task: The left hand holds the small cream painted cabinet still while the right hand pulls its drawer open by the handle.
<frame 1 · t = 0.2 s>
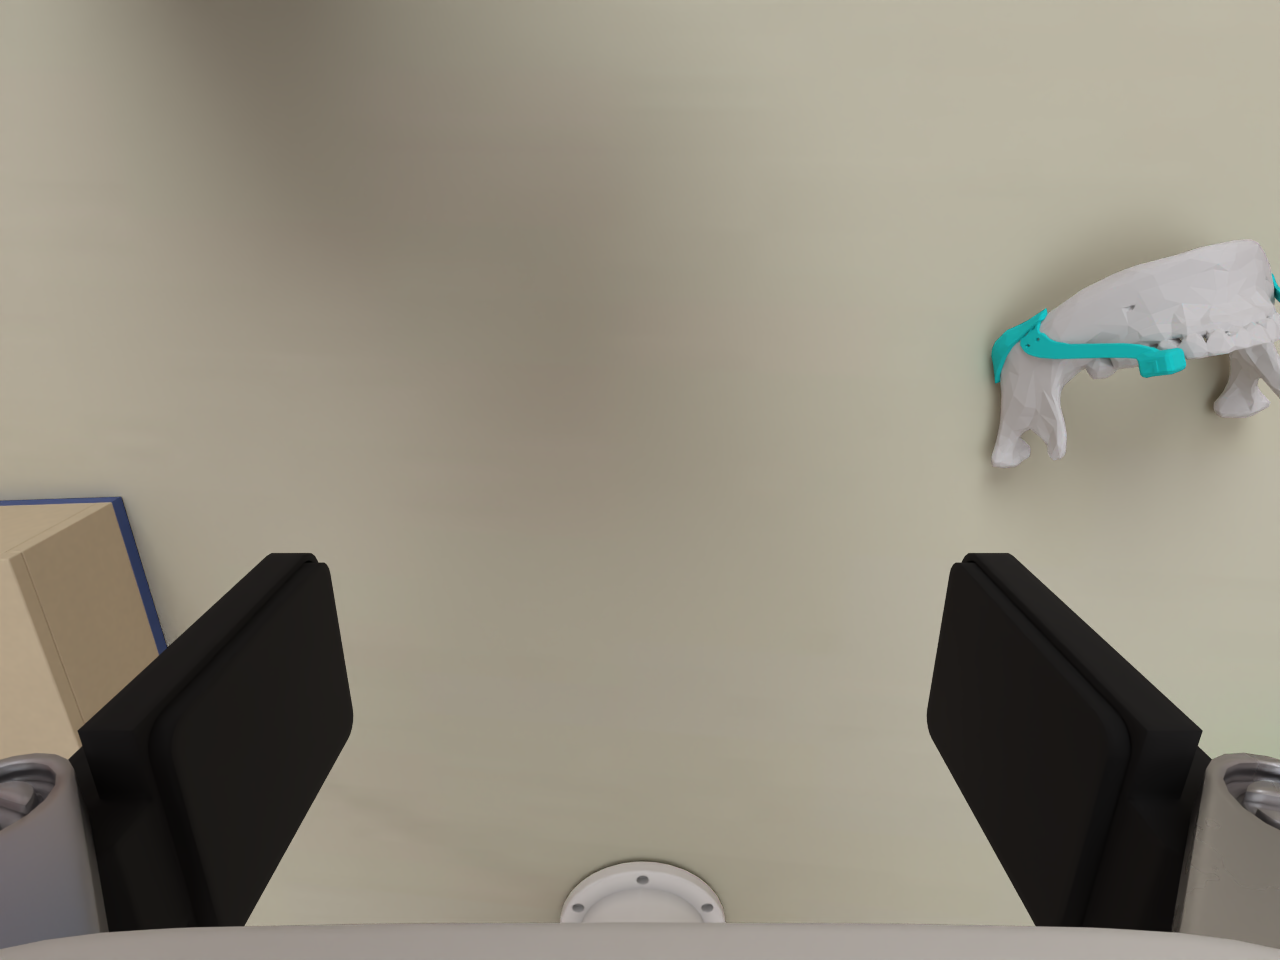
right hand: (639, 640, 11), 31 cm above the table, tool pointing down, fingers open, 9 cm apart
anatomical model: (1108, 344, 40), on the table
cabinet: (66, 593, 46), on the table
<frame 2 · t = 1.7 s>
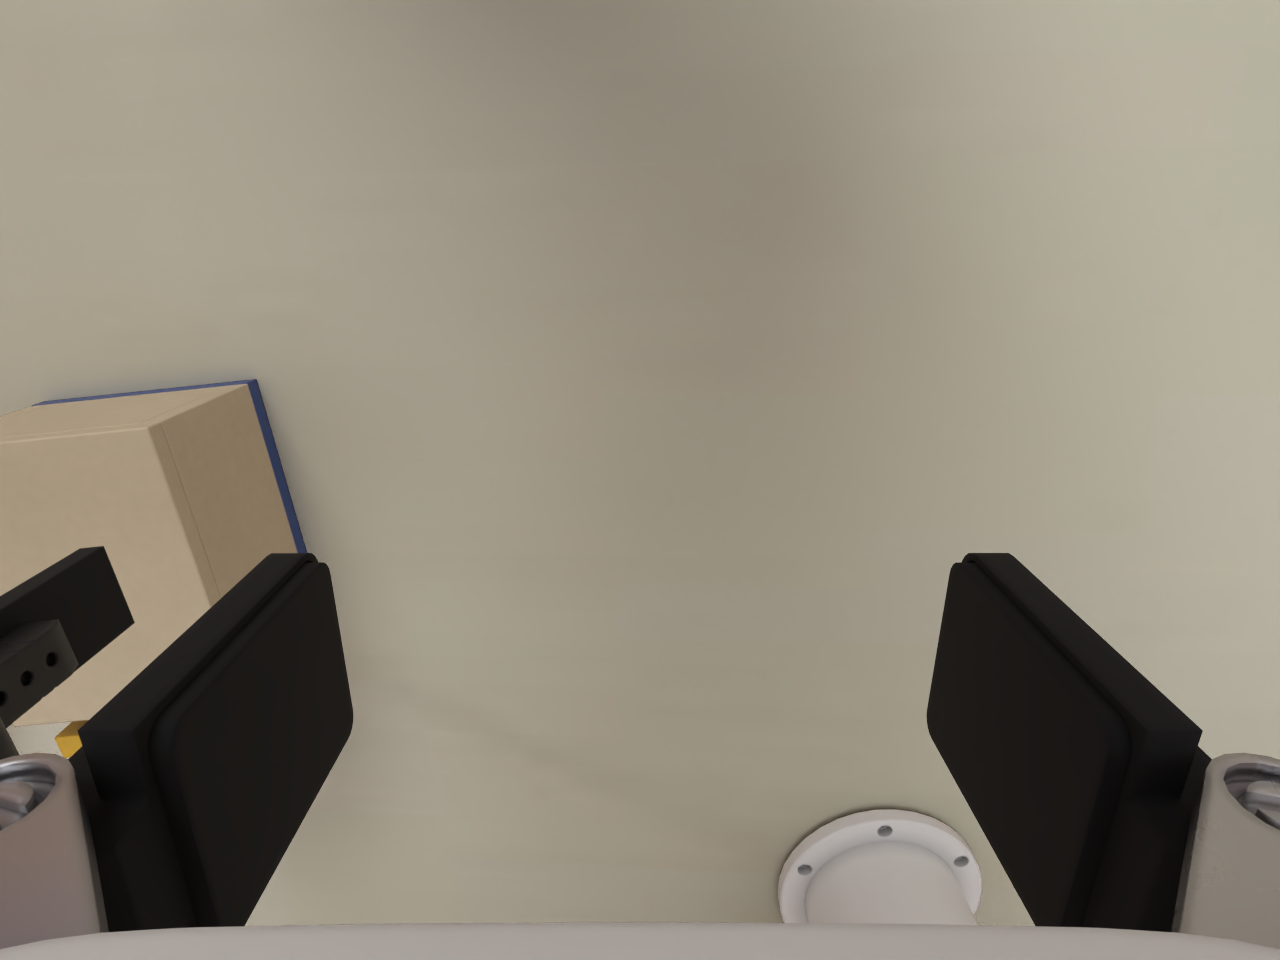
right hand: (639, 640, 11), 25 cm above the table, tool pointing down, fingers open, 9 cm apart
drawer: (180, 653, 36), point 4 cm above the table, slide at 1.4 cm
cabinet: (191, 511, 38), on the table
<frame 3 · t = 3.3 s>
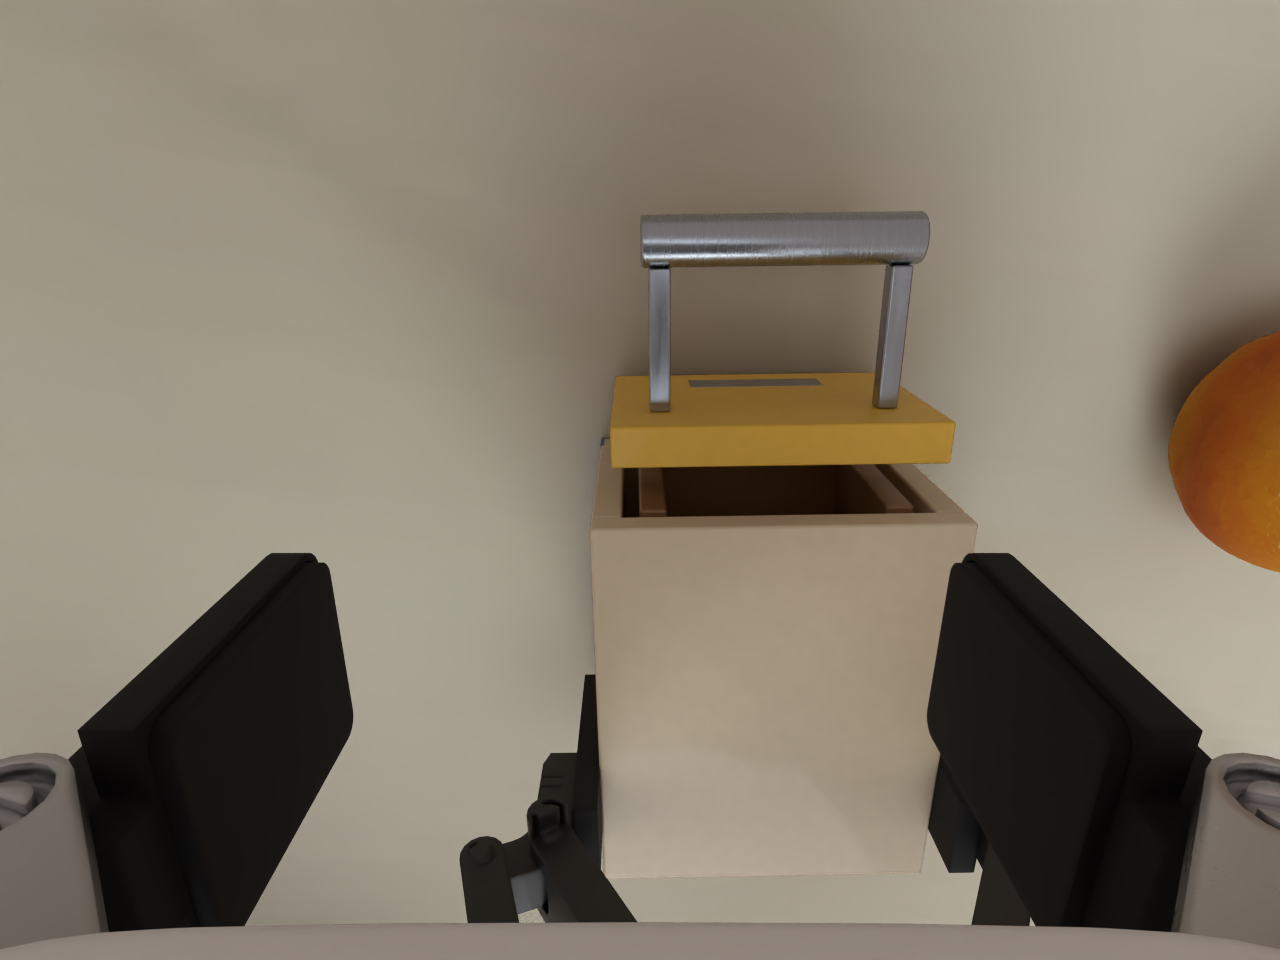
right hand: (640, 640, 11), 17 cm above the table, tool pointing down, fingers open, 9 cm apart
drawer: (759, 489, 24), point 4 cm above the table, slide at 1.4 cm
fruit: (1239, 419, 27), on the table
cabinet: (736, 585, 30), on the table, touching left hand
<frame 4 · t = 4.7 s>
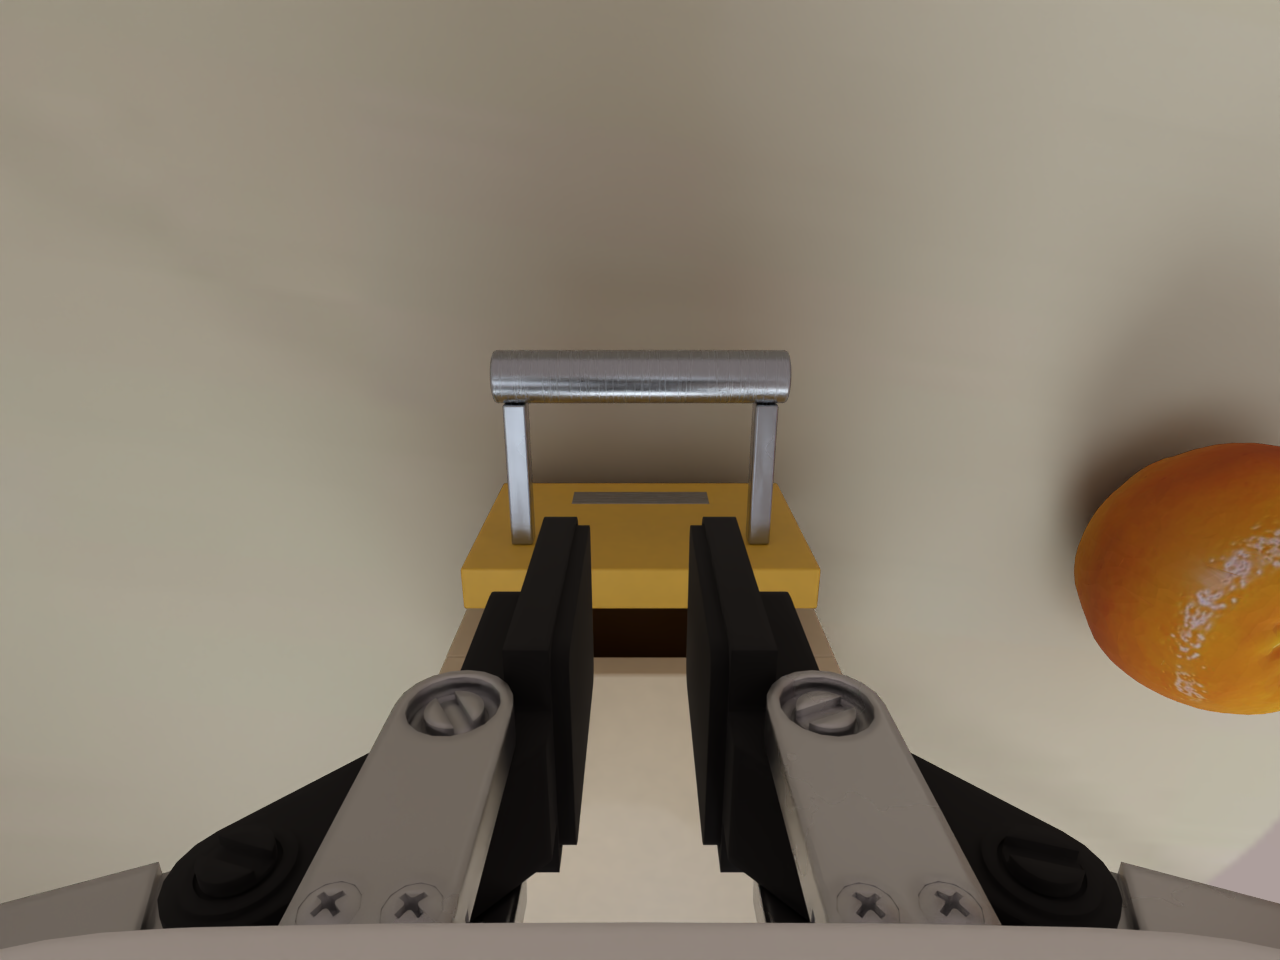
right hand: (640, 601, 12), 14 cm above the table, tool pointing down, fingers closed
drawer: (640, 610, 23), point 4 cm above the table, slide at 1.4 cm
fruit: (1154, 531, 27), on the table
cabinet: (640, 686, 29), on the table, touching left hand
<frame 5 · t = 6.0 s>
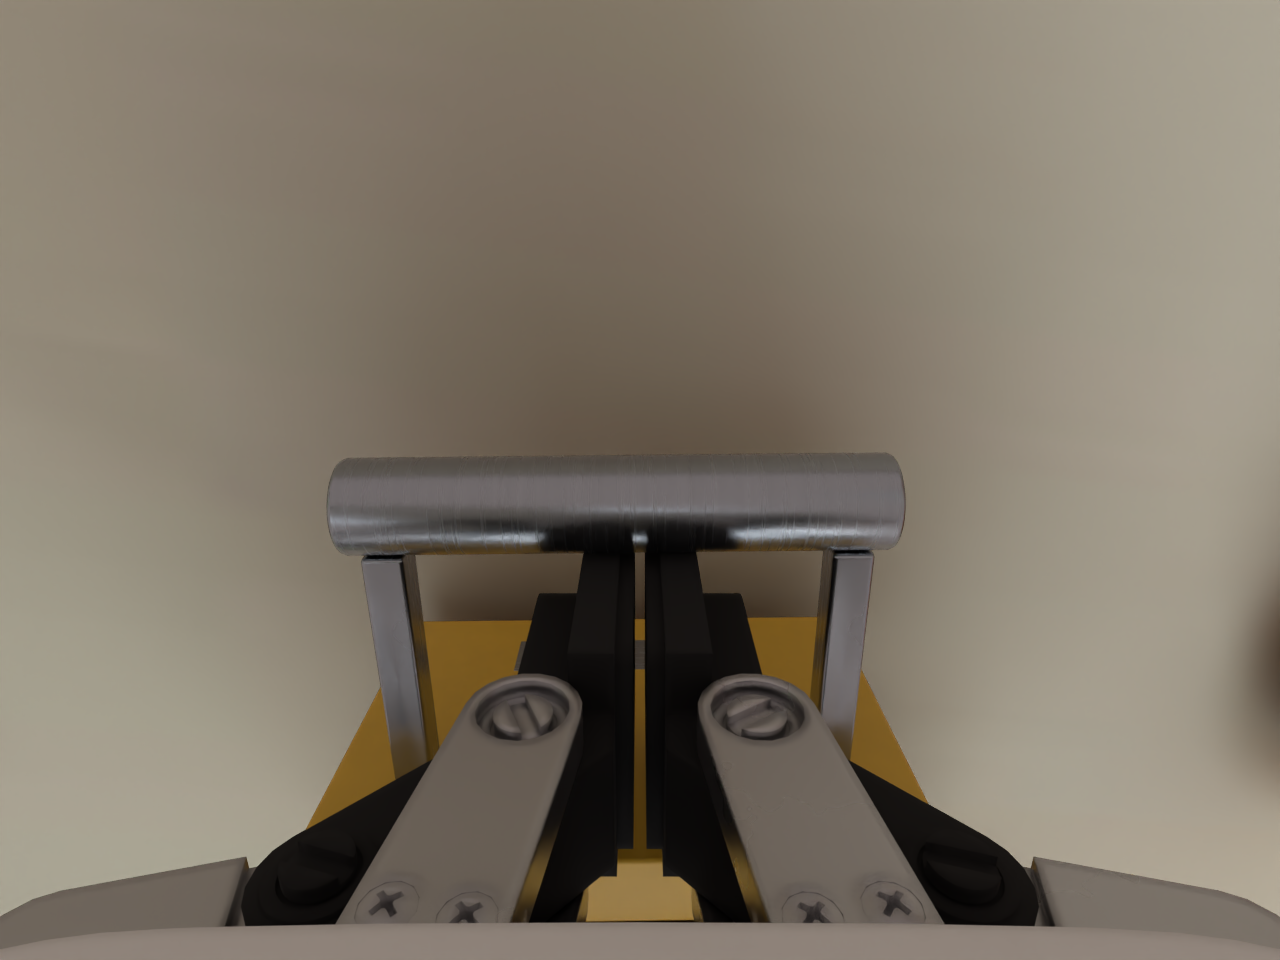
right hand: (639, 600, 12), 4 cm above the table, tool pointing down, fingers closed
drawer: (626, 843, 14), point 4 cm above the table, slide at 1.5 cm, touching right hand
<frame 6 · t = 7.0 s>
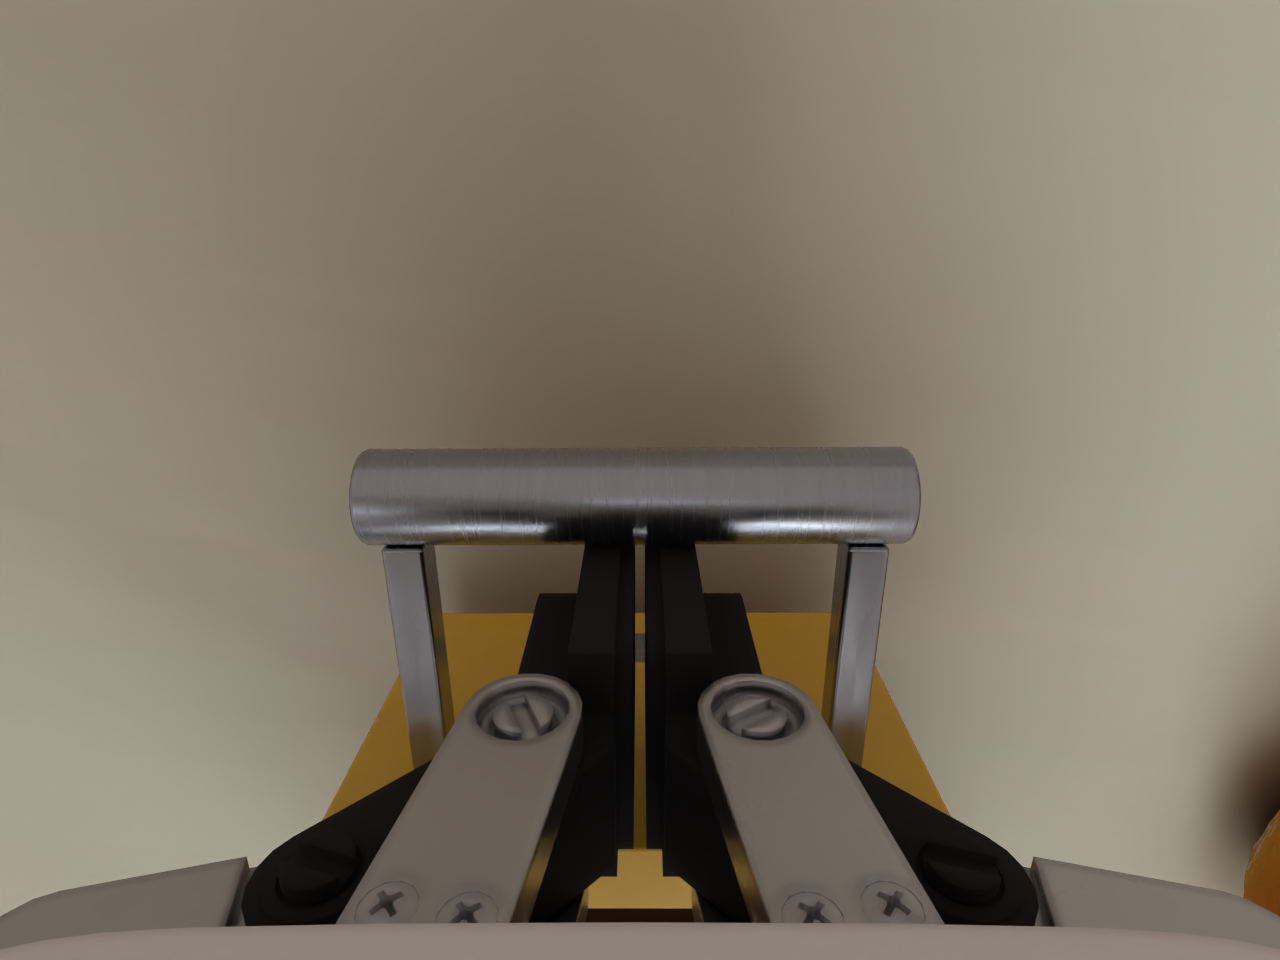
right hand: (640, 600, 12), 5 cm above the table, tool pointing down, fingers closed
drawer: (639, 834, 14), point 4 cm above the table, slide at 5.9 cm, touching right hand
when the left hand's fingers open (3 cm above the table, at t = 8.6 s): cabinet stays where it is, on the table.
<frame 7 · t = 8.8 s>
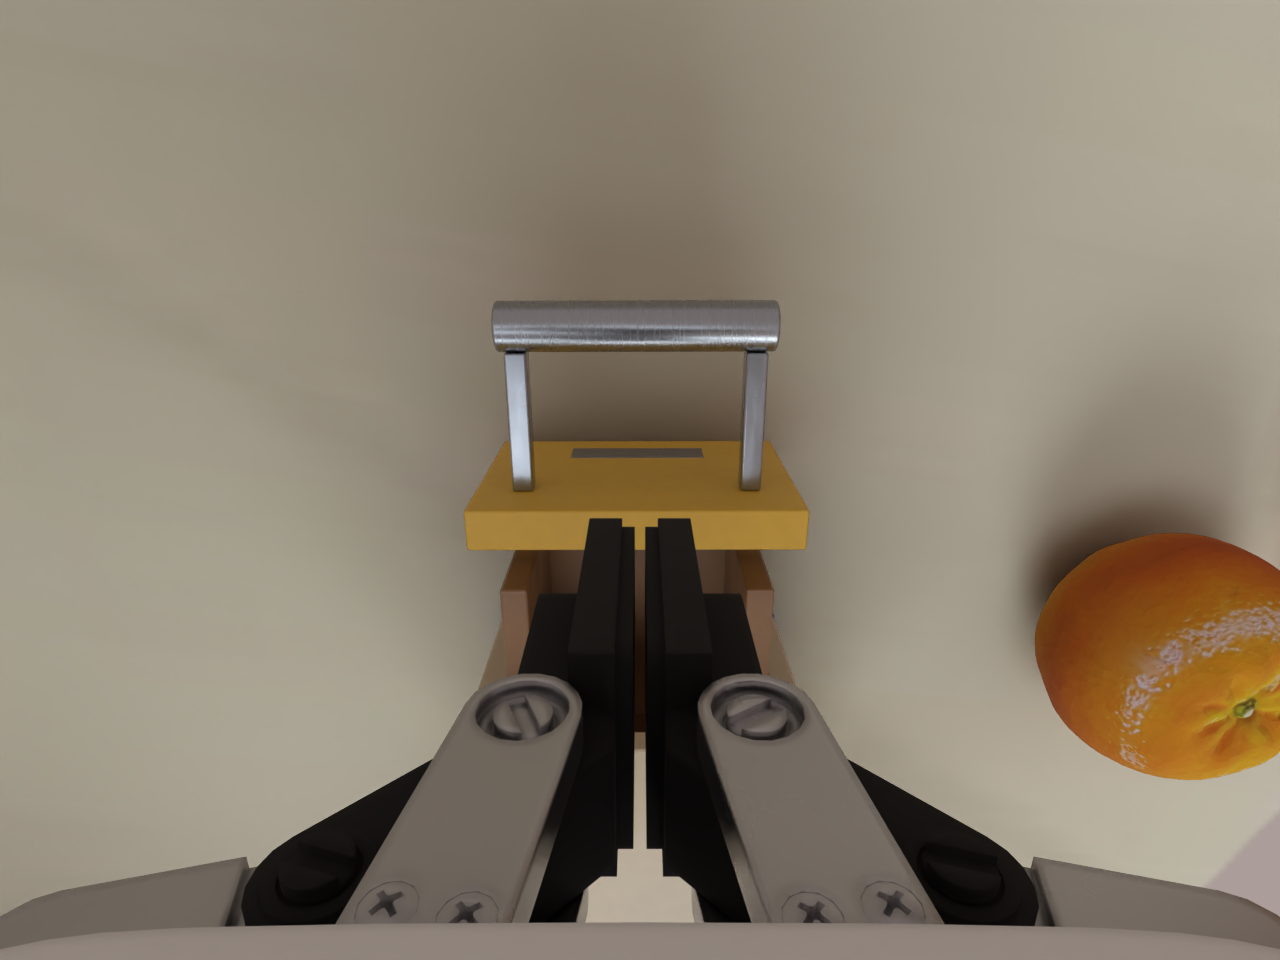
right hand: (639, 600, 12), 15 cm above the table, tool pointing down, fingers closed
drawer: (637, 561, 24), point 4 cm above the table, slide at 6.0 cm
fruit: (1109, 602, 29), on the table
cabinet: (638, 736, 31), on the table
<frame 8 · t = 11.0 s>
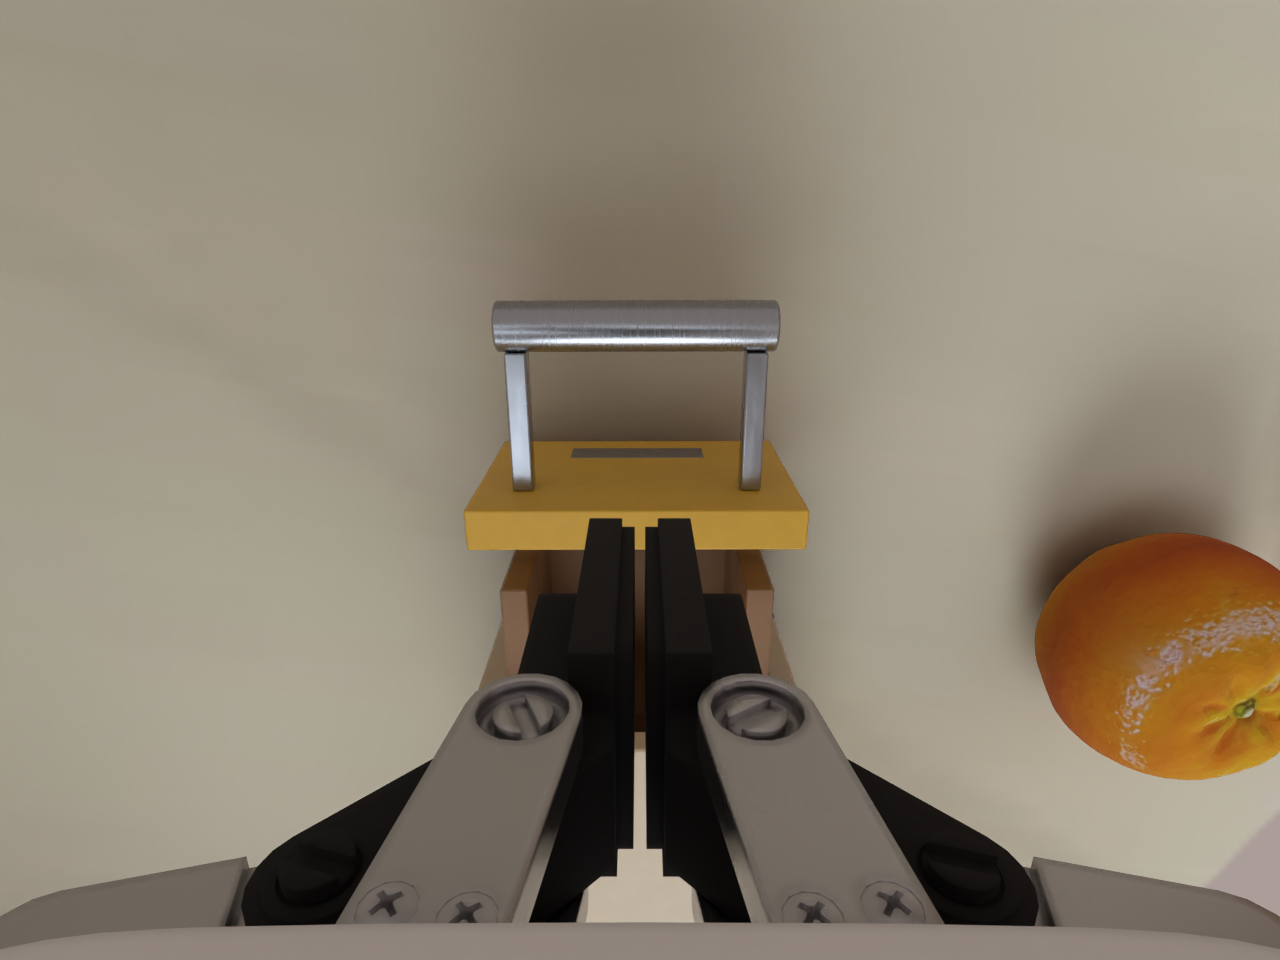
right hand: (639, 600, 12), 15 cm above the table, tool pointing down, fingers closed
drawer: (637, 561, 24), point 4 cm above the table, slide at 6.0 cm
fruit: (1109, 602, 29), on the table
cabinet: (638, 736, 31), on the table
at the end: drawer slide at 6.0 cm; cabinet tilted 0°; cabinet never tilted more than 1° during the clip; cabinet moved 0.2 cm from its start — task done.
